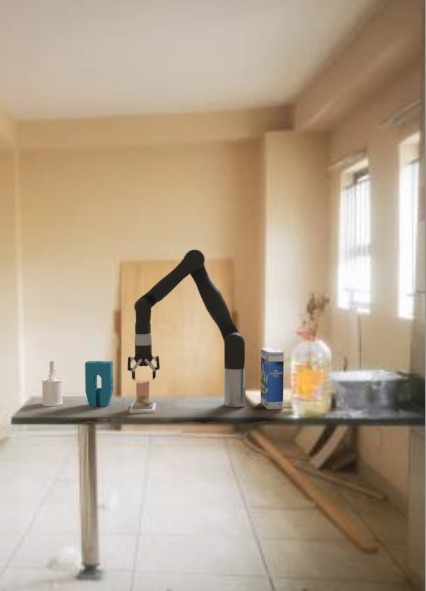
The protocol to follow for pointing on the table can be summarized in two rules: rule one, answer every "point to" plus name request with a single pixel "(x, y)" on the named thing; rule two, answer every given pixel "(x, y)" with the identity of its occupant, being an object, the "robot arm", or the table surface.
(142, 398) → the maple block
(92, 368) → the block
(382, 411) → the table surface
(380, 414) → the table surface
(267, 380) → the string lights box
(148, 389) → the terracotta block
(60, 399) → the white nozzle bottle
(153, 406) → the blueprint baseplate
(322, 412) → the table surface
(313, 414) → the table surface
